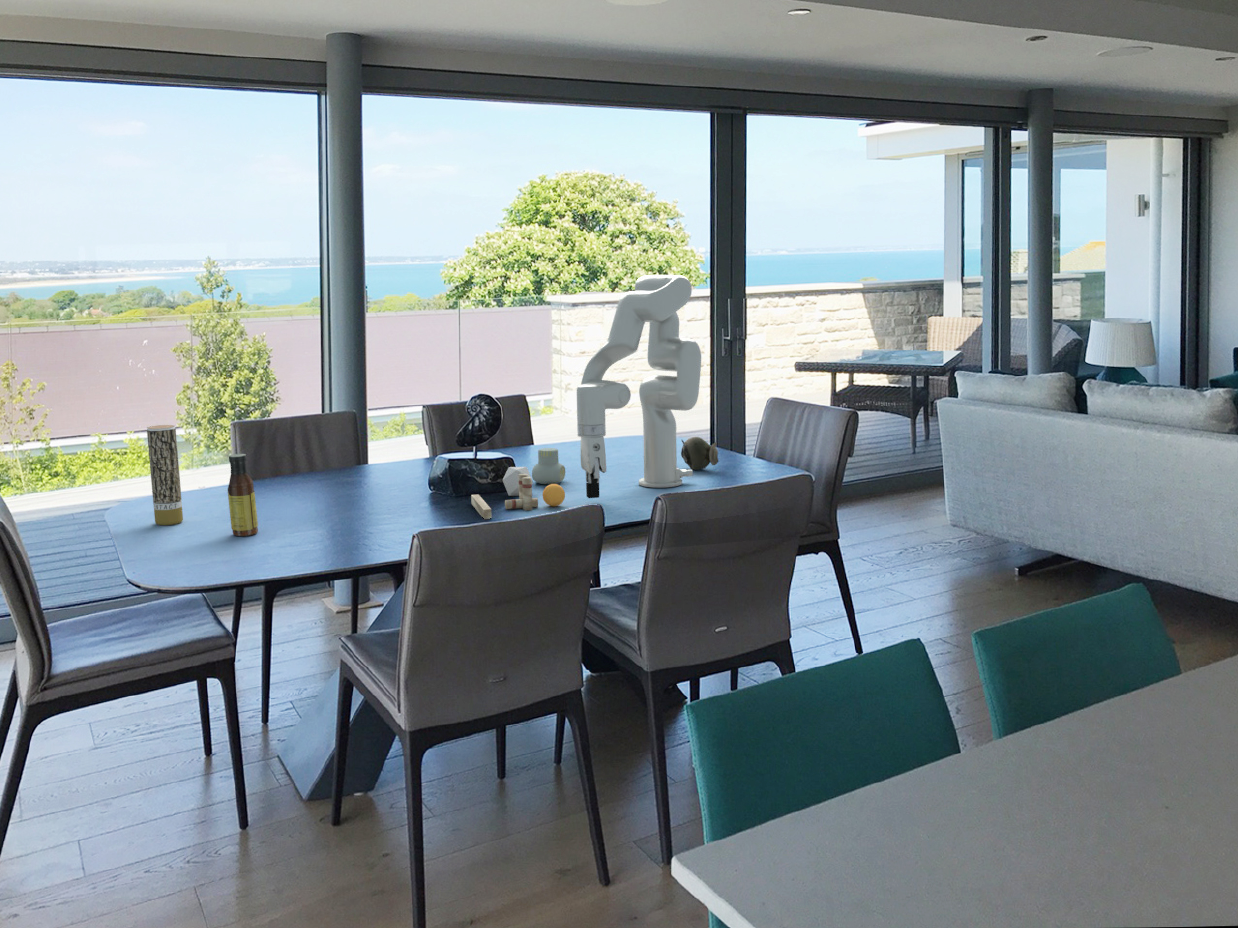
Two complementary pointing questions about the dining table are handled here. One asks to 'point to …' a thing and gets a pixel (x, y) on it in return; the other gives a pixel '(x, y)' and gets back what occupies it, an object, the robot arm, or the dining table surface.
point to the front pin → (519, 503)
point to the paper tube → (165, 474)
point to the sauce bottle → (241, 498)
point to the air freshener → (548, 467)
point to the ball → (553, 495)
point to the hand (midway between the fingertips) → (592, 497)
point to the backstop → (481, 506)
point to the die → (514, 479)
